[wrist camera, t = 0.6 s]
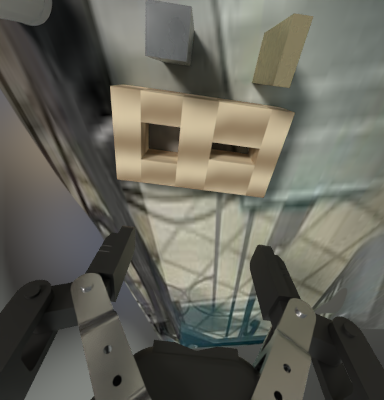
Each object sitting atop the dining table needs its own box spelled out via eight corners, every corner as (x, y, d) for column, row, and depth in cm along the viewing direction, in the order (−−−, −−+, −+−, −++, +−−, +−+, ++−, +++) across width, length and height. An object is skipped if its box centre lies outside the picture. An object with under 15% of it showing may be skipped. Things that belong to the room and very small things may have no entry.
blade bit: (264, 33, 24) (294, 13, 17) (277, 35, 24) (313, 16, 17) (252, 82, 27) (273, 85, 19) (263, 84, 27) (289, 87, 19)
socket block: (123, 84, 27) (110, 85, 23) (280, 107, 28) (295, 112, 24) (127, 166, 34) (117, 179, 30) (255, 182, 35) (263, 197, 30)
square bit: (164, 25, 24) (145, -2, 16) (194, 30, 24) (191, 6, 16) (163, 61, 26) (145, 55, 18) (190, 66, 26) (186, 61, 18)
